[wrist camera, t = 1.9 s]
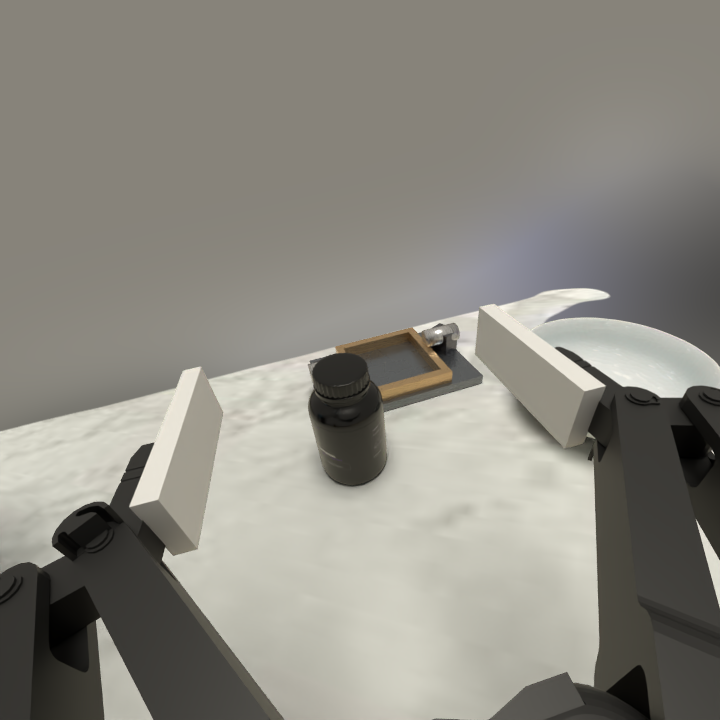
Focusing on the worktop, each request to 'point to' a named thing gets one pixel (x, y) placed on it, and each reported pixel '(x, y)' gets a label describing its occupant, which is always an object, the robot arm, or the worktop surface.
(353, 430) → the supplement bottle
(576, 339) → the cereal bowl
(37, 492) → the worktop surface
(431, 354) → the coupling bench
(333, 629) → the worktop surface
